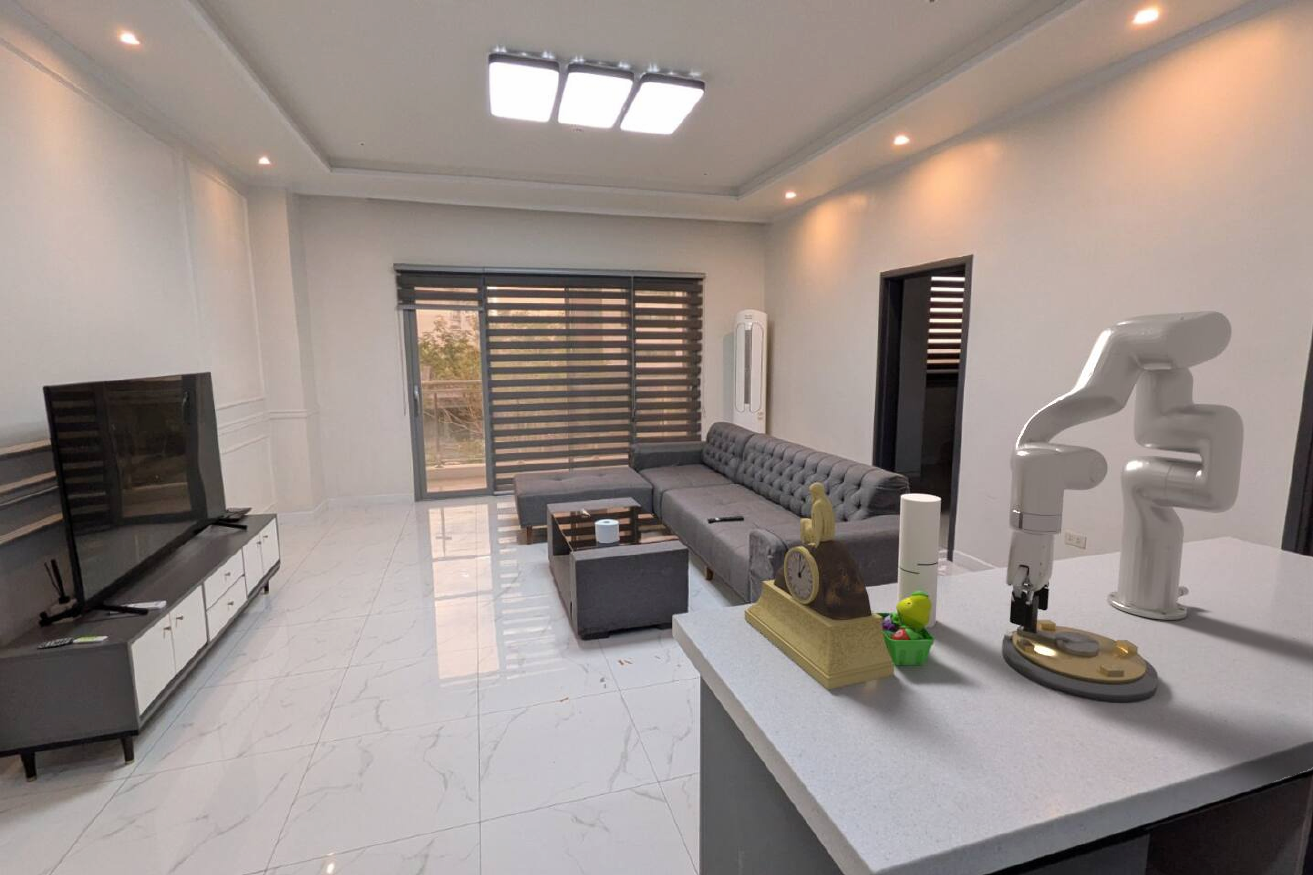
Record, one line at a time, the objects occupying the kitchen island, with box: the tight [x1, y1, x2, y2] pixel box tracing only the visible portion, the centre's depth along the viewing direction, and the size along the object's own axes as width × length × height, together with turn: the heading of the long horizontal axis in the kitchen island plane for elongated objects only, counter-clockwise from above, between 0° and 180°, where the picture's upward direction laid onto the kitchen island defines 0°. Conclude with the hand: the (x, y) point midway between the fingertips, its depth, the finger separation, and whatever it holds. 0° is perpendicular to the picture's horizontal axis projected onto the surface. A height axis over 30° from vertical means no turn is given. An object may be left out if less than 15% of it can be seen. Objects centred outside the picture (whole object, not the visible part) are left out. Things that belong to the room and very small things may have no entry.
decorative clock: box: [744, 482, 895, 690], centre depth 106 cm, size 28×13×30 cm, turn 19°
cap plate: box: [1001, 630, 1159, 704], centre depth 98 cm, size 21×21×3 cm
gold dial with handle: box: [1013, 592, 1146, 684], centre depth 97 cm, size 18×18×8 cm
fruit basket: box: [875, 591, 935, 666], centre depth 103 cm, size 11×9×11 cm
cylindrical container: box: [896, 493, 942, 629], centre depth 116 cm, size 7×7×25 cm
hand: (1029, 616), depth 102 cm, fingers open, 9 cm apart
